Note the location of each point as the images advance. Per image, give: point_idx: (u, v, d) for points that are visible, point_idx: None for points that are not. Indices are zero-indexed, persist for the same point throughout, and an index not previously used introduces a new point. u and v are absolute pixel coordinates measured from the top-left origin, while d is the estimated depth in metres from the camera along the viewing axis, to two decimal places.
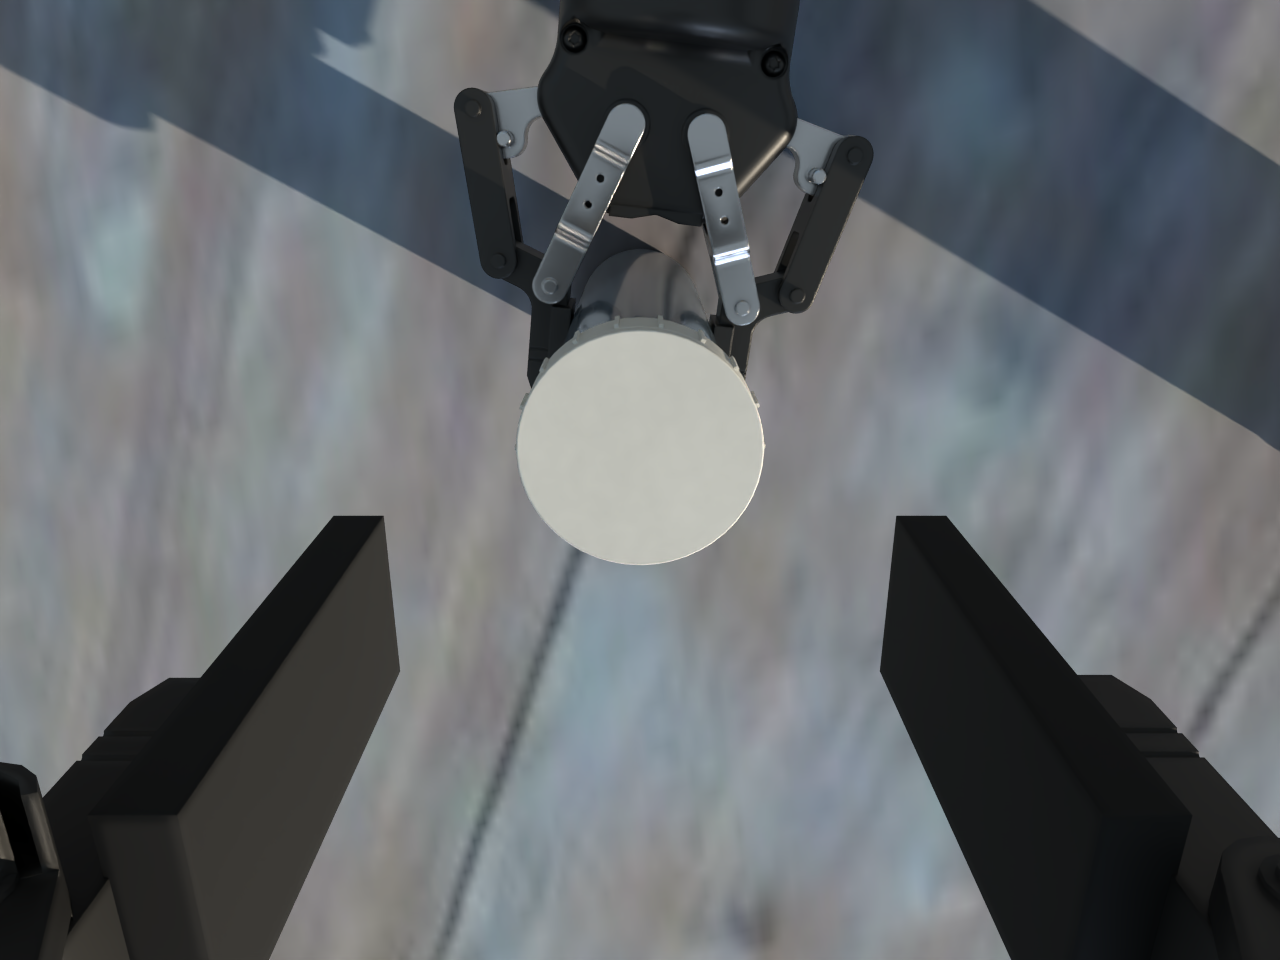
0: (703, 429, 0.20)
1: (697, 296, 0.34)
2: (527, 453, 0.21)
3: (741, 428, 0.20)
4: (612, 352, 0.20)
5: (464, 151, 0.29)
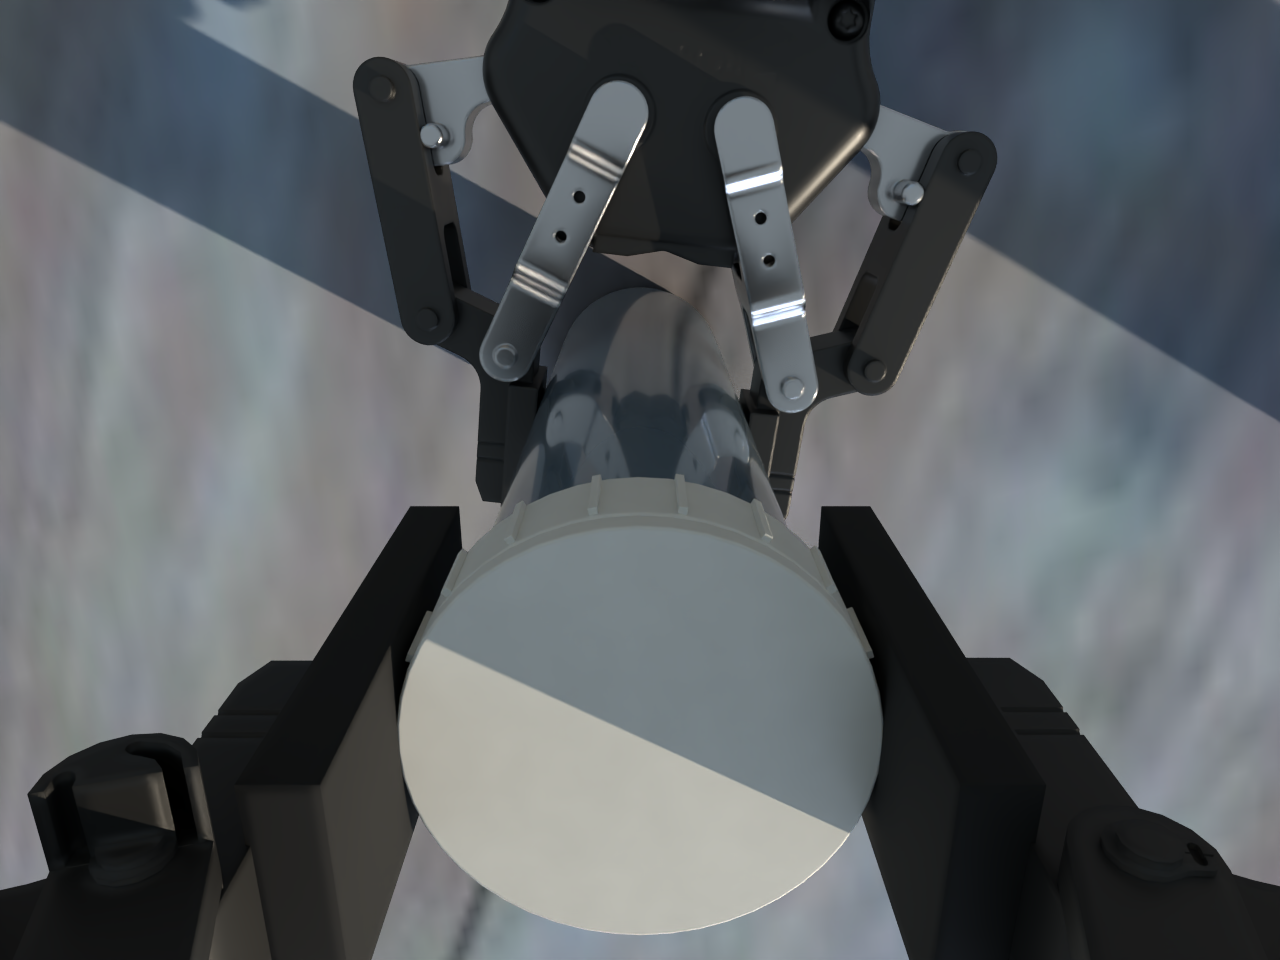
0: (765, 709, 0.10)
1: (722, 362, 0.23)
2: (420, 750, 0.11)
3: (841, 707, 0.10)
4: (584, 569, 0.10)
5: (371, 155, 0.19)
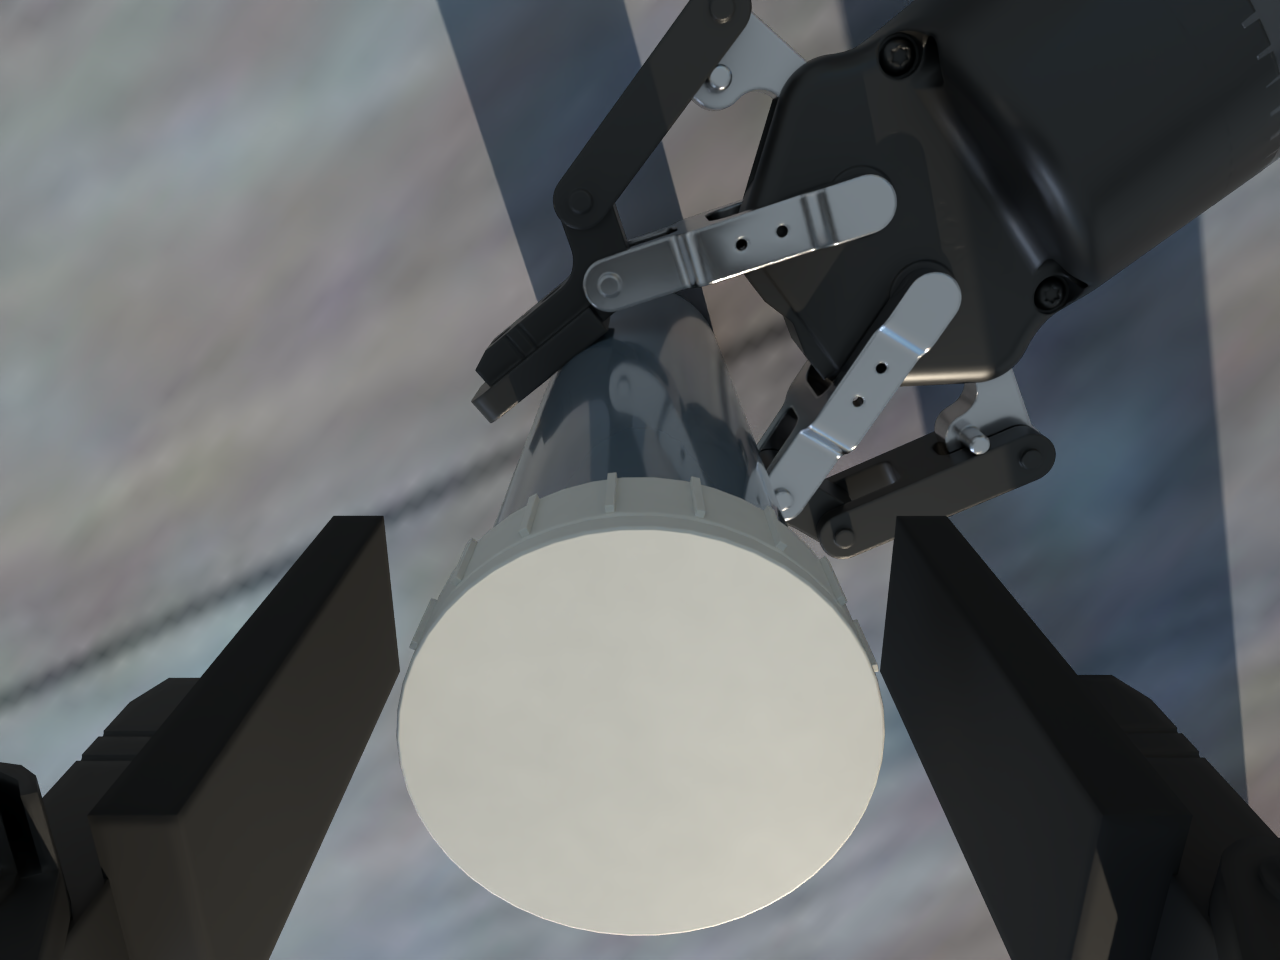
0: (670, 636, 0.10)
1: None
2: (526, 894, 0.11)
3: (713, 577, 0.10)
4: (439, 692, 0.10)
5: (664, 44, 0.19)
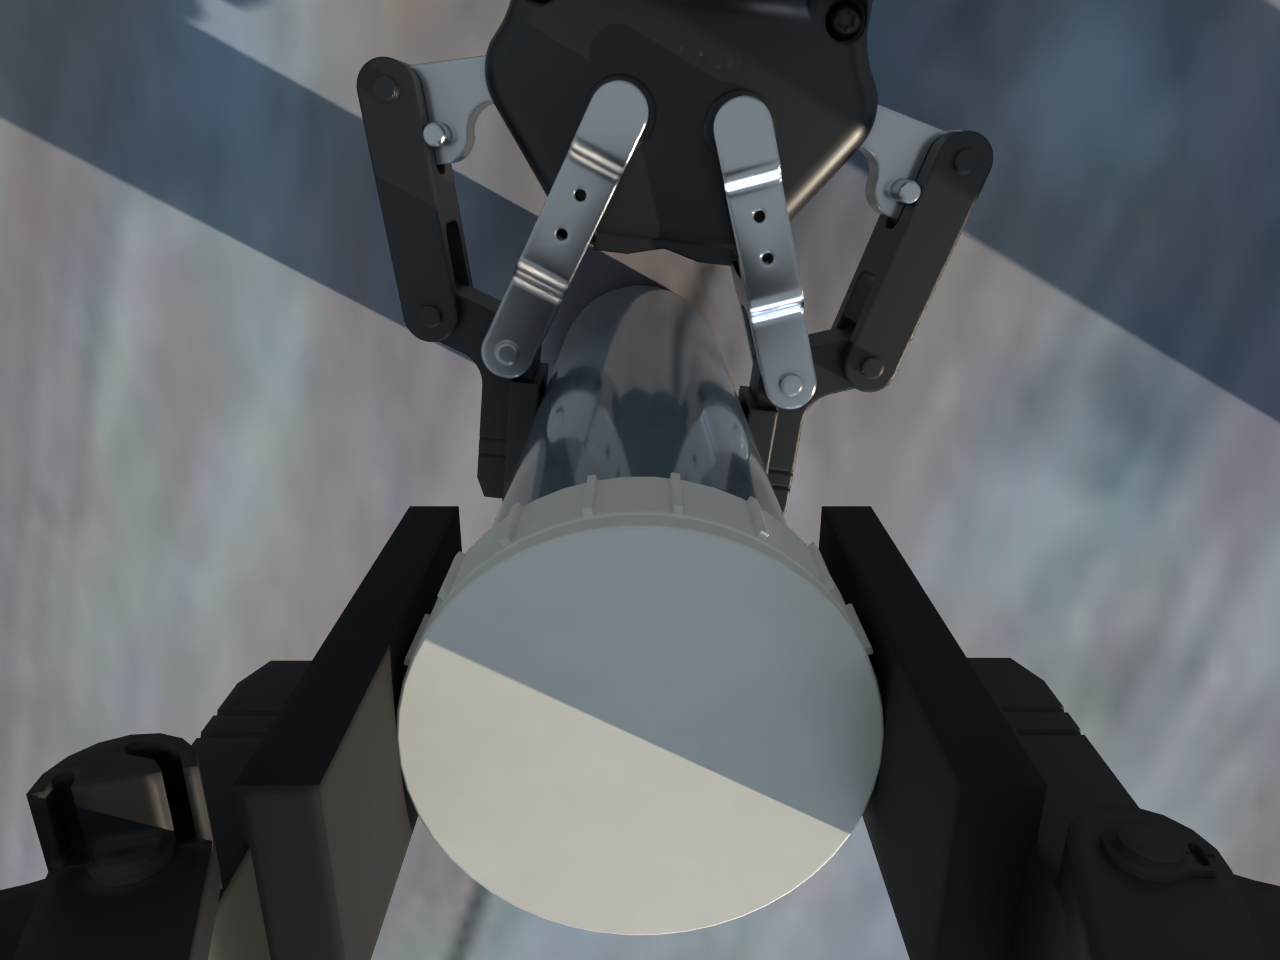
0: (565, 652, 0.10)
1: (721, 359, 0.24)
2: (679, 917, 0.11)
3: (545, 585, 0.10)
4: (459, 823, 0.11)
5: (375, 154, 0.19)
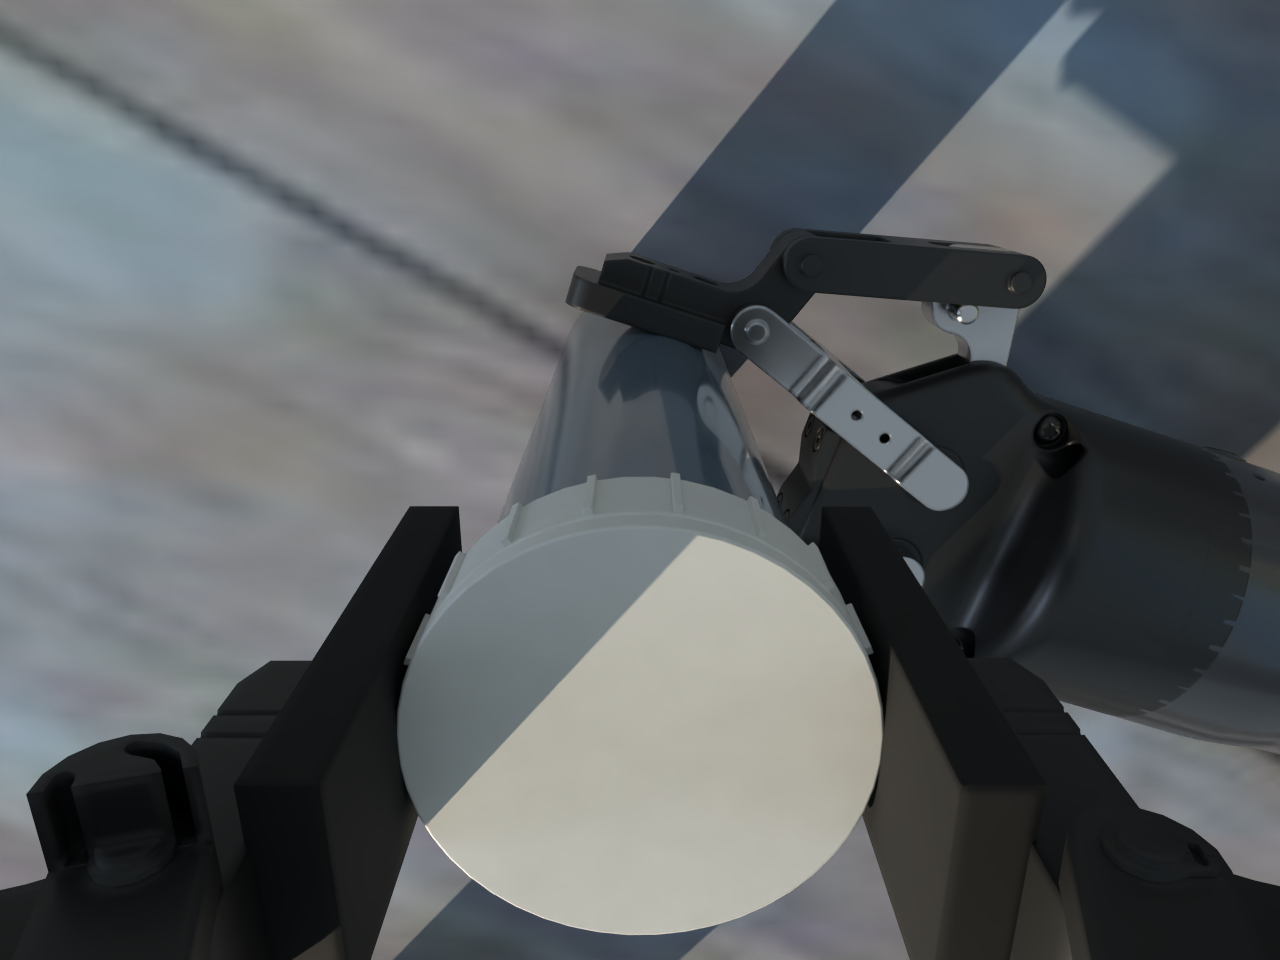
0: (565, 652, 0.10)
1: None
2: (679, 917, 0.11)
3: (545, 585, 0.10)
4: (459, 822, 0.11)
5: (969, 254, 0.20)
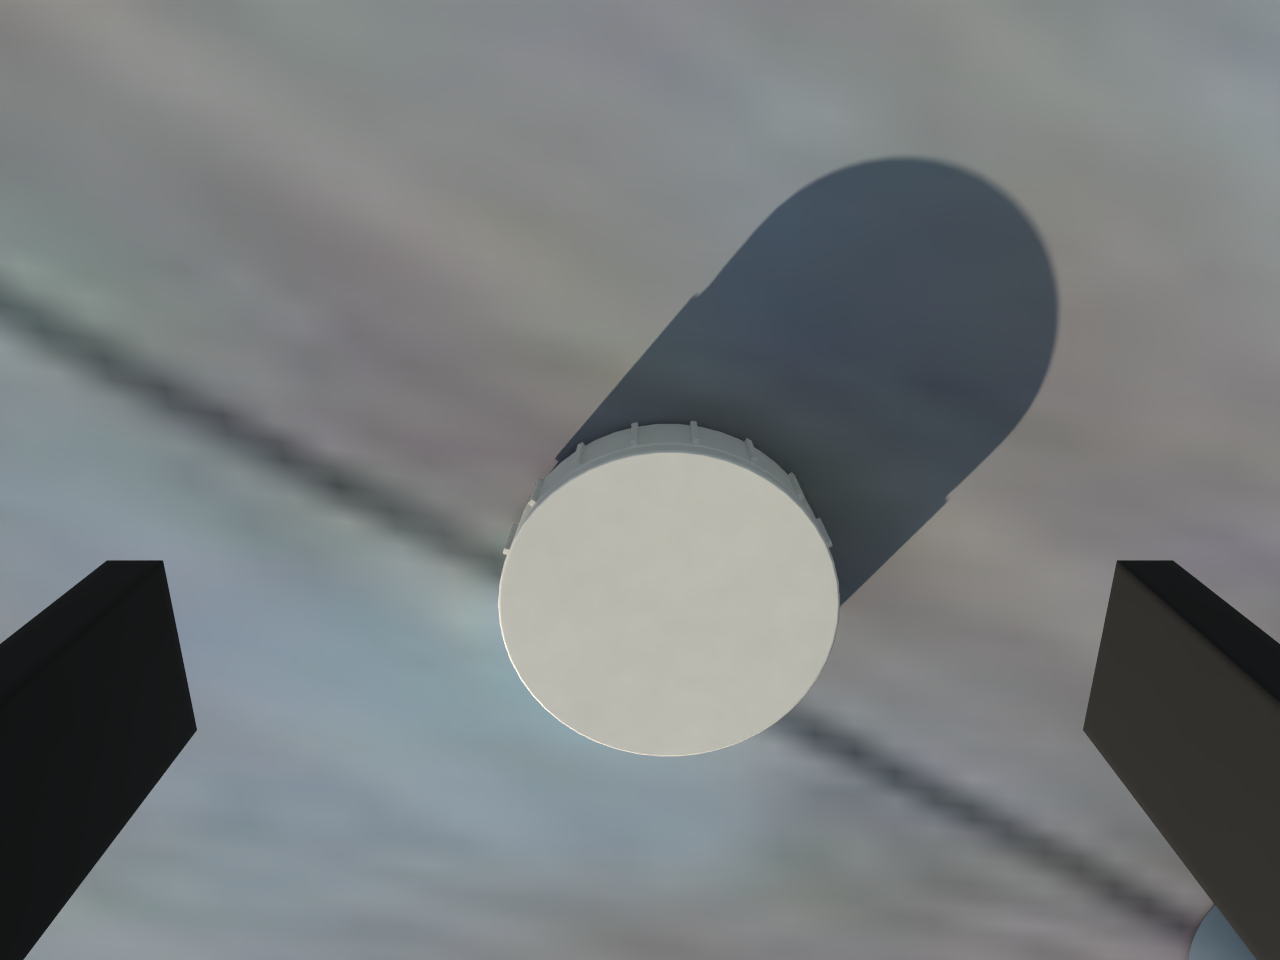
0: (617, 540, 0.15)
1: None
2: (696, 742, 0.16)
3: (605, 492, 0.14)
4: (540, 667, 0.15)
5: None
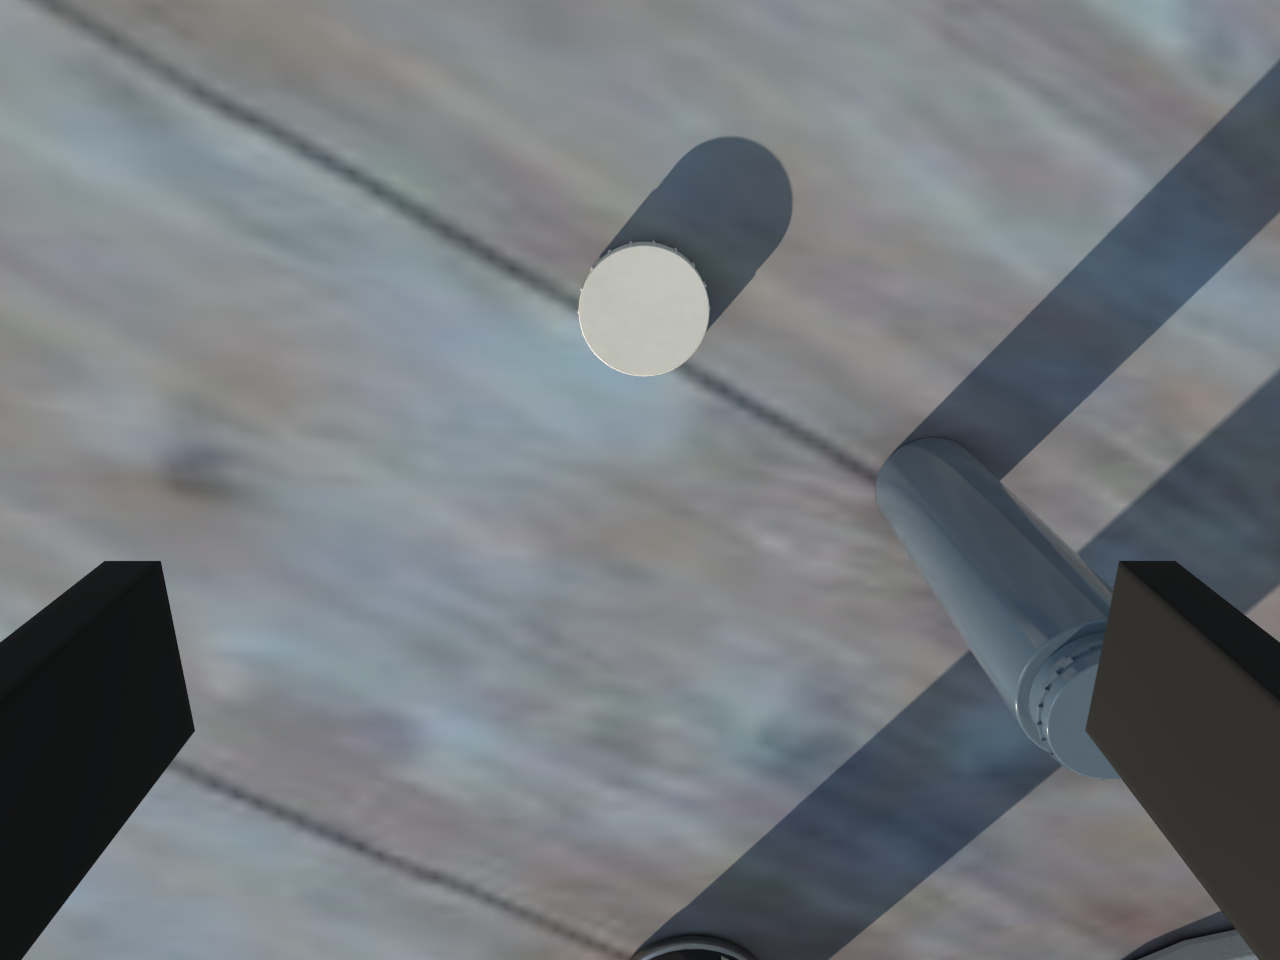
0: (624, 282, 0.39)
1: None
2: (655, 369, 0.40)
3: (620, 262, 0.38)
4: (594, 336, 0.40)
5: None
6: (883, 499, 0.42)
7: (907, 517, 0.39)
